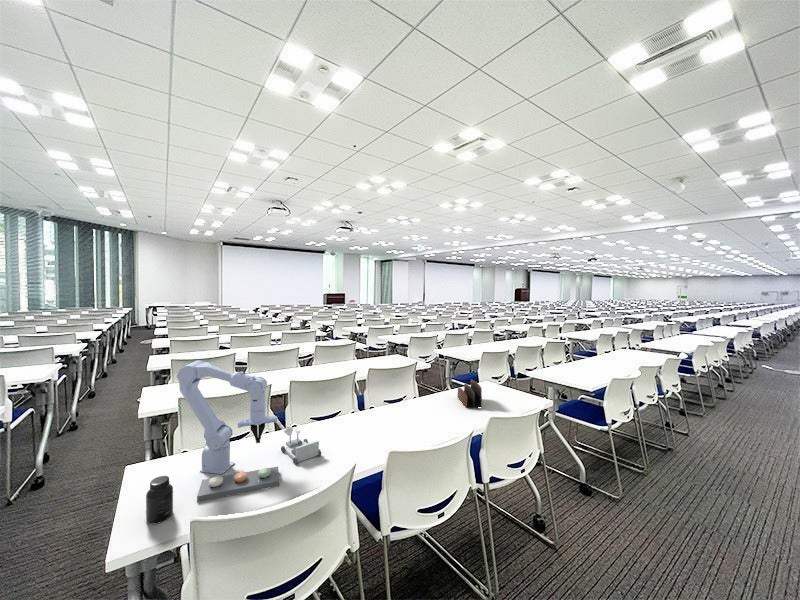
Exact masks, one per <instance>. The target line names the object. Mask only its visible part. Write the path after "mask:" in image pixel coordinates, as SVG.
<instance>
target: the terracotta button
mask: <svg viewBox="0 0 800 600" xmlns="http://www.w3.org/2000/svg"><path fill="white" fill-rule="evenodd" d="M246 472H247V471H240V472H238V473H235V474H236V475H235V476H234V481H235V482H238V483H242V482H244V481H245V480H246V479H247V478H248V474H247V473H246Z"/></svg>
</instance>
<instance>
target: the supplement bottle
mask: <svg viewBox="0 0 800 600" xmlns="http://www.w3.org/2000/svg"><path fill="white" fill-rule="evenodd" d="M173 488H174V486H173V485H172V484H170V477H169V476H168V475H161V476H160V475H159V476H156V477H155V478H153V479H151V481H150V483H149V489H148V491H147V492H146V495H145V519H146V520H145V521H146V522H147V523H148V524H150V523H156V524H160V523H162V521H163V522H165V521H166V520H168V519H169V518H170V517H172V515H173V513H174V489H173ZM167 518H168V519H167ZM164 520H165V521H164ZM159 522H160V523H159Z"/></svg>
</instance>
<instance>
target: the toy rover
mask: <svg viewBox="0 0 800 600" xmlns="http://www.w3.org/2000/svg"><path fill="white" fill-rule="evenodd" d="M293 431H294V427H289V426H287V428H286V429H285V430H283V432H284V434H286V436H289V441H286V442H285V445H286V446H287V447H286V446H284V445H282V446H281V447H280V450H281V451H282V452H281V453H282V454H285V453H286V454H287V455H288V456H289V457H290V458H291V459H292V464H294V465H295V466H297V465H298V464H299V463H300V462H304V461H306V460H308V459H311V458H313V457H316V456H318V457H321V456H322V451H321V449H320V448H319V447H320V446H319V445H320V441H319V440H315V441H312V442H309V441H308V439H307V438H304V439H303V441H302V440H301V439H300V438H299V434H300V433H301V430H299V429H295V433H296V435H297V436H296V437H297V438H296V439H293V440H291V438H292V437H291V436H292V434H293ZM284 452H285V453H284Z"/></svg>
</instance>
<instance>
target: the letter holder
mask: <svg viewBox="0 0 800 600" xmlns="http://www.w3.org/2000/svg"><path fill="white" fill-rule="evenodd" d="M463 385H464V387H463V388H464V389H462V388H461V387H459V386H458V387H457V396H456V398H457V397H458V398H459V399H458V398H457V399H458V401H459V400H460V401H461V402H462V403H463V404H462V403H461V402H460V401H459V402H460V403H461V404H462V405H463V407H464V406H465V407H466V408H478V407H483V403H482V401H483V397H482V393H483V392H482V391H483V390H482V386H481V385H480V384H479V383H478V382H477V381H475V380H473V379H470V385H469V384H467V383H464V384H463ZM465 407H464V408H465ZM466 408H465V409H466Z"/></svg>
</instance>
